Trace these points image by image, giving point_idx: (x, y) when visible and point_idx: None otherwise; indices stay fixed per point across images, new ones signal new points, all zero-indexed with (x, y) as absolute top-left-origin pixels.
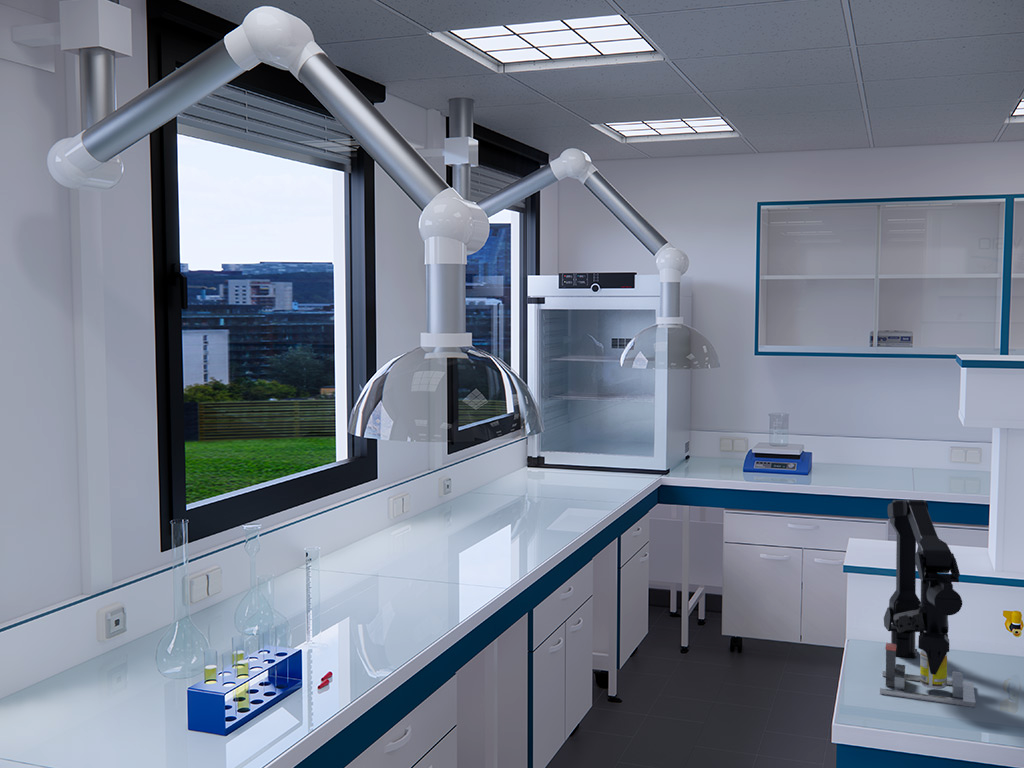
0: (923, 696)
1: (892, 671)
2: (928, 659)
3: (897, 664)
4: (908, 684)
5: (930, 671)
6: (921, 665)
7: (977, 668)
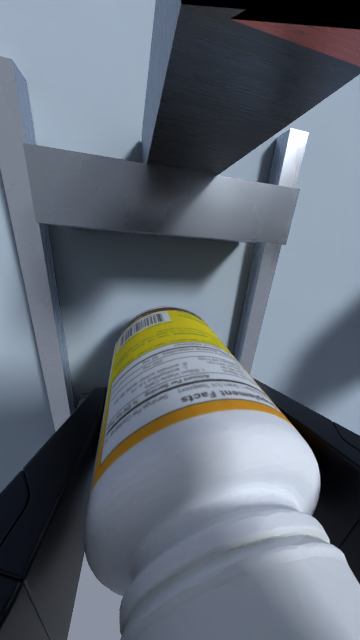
0: (33, 312)
1: (147, 140)
2: (6, 492)
3: (292, 197)
4: (204, 253)
5: (89, 396)
6: (153, 351)
7: (347, 414)
